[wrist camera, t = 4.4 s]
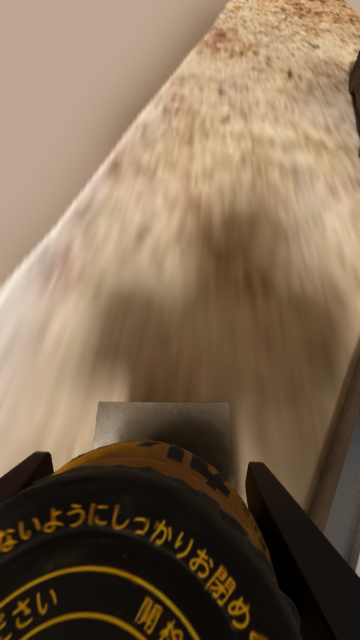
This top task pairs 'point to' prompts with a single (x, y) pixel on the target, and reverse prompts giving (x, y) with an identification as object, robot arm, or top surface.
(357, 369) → the coffee machine
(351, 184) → the top surface
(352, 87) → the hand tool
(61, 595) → the condiment
